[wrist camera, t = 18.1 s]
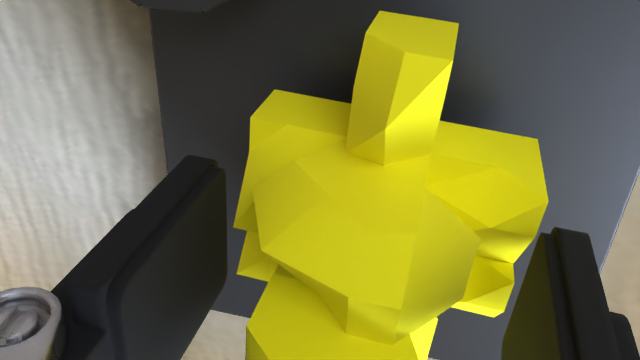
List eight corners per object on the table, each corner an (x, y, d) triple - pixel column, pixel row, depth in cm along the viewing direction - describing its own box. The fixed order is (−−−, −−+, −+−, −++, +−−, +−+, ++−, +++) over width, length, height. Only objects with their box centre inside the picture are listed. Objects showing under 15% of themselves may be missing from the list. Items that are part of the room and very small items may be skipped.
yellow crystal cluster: (570, 41, 11) (695, 331, 4) (473, 332, 15) (462, 699, 9) (279, -6, 12) (27, 175, 5) (264, 280, 16) (114, 576, 10)
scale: (94, -293, 12) (-8, -330, 10) (786, -293, 10) (892, -342, 7) (167, 270, 20) (122, 330, 18) (552, 351, 18) (563, 434, 15)
